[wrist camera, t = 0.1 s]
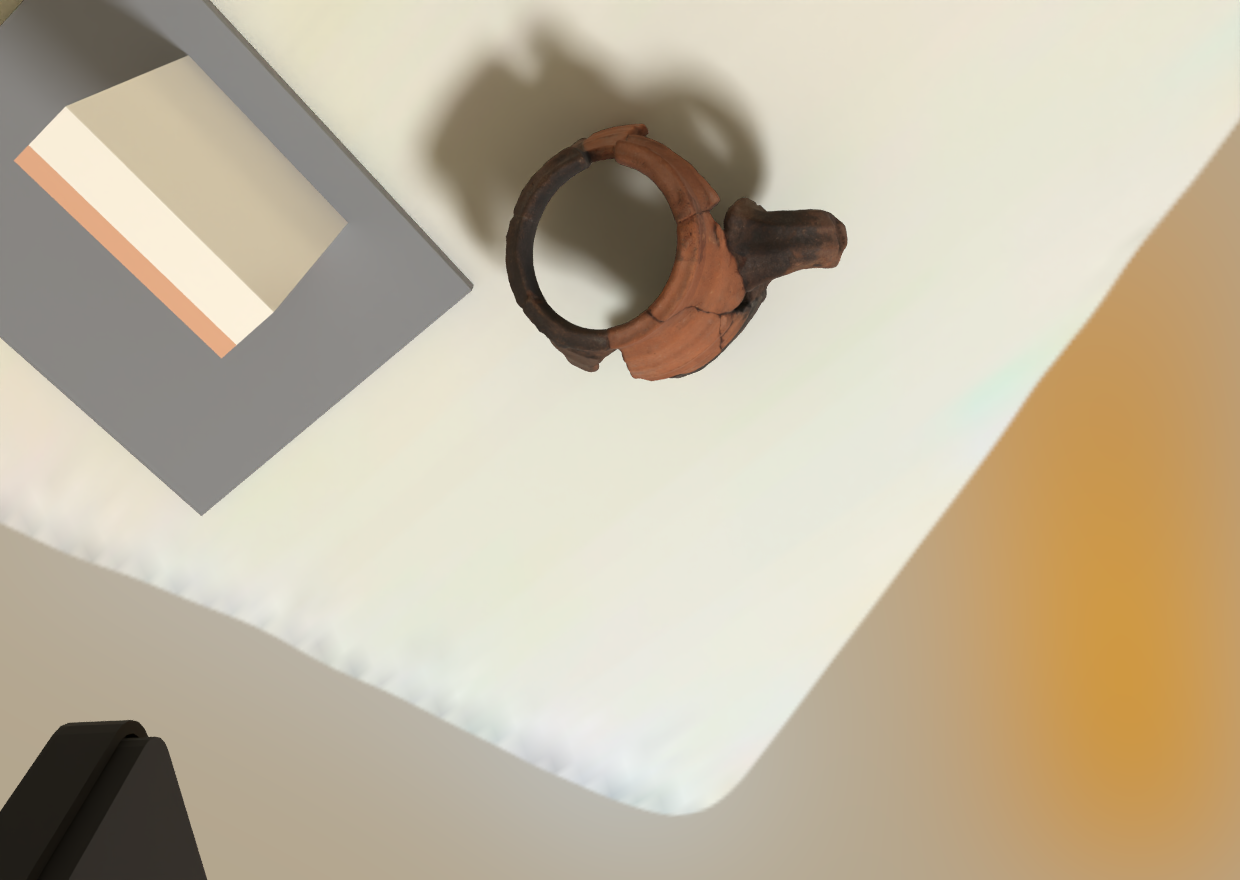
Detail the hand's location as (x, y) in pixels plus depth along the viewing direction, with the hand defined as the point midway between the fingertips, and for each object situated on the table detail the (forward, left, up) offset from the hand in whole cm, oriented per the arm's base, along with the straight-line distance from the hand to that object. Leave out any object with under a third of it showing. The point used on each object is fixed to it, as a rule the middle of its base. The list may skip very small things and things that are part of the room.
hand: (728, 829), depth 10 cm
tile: (-8, -14, -36) cm, 40 cm away
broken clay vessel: (+5, -3, -37) cm, 38 cm away
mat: (-8, -19, -37) cm, 42 cm away
